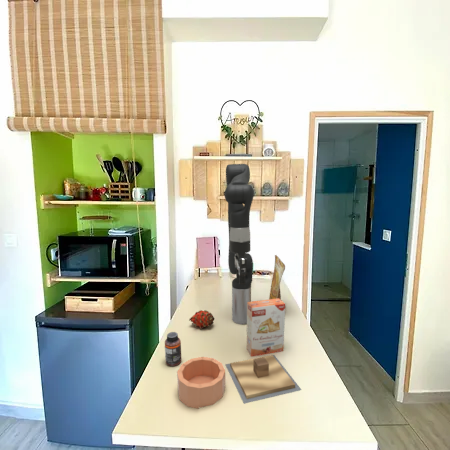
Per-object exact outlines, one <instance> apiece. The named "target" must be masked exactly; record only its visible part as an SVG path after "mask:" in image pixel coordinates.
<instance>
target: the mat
mask: <svg viewBox="0 0 450 450" xmlns="http://www.w3.org/2000/svg"><path fill="white" fill-rule="evenodd" d="M272 355H273V356H274V358H275V359H276V360H277V361H278V363H279V364H280V365H281V367H282V368H283V369H284V370H285V372H286V373H287V374H288V376H289V377H290V378H291V379H292V381H293V382H294V383H295V388H292V389H287V390H283V391H279V392H275V393H270V394H266V395H262V396H258V397H253V398H249V399H246V397H245V395H244V393H243V391H242V389H241V387H240V385H239V383H238V381H237V379H236V377H235V375H234V373H233V371H232V369H231V367H230V363H225V367H226V369H227V372H228V373H229V376H230V377H231V380H232V382H233V384H234V386H235V389H236V390H237V392H238V394H239V397H240V399H241V401H242V403H243V404H248V403H254V402H257V401H260V400H265V399H269V398H274V397H278V396H283V395H286V394H290V393H295V392H299V391H302V388H301V387H300V386H299V384H298V382H296V381H295V379H294V378H293V377H292V375H291V373H289V372H288V371H287V369H286V368H285V367H284V365H283V364H282V363H281V362H280V360H279V359H278V357H277V356H276V355H275V354H272Z"/></svg>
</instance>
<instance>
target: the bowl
mask: <svg viewBox="0 0 450 450" xmlns="http://www.w3.org/2000/svg"><path fill="white" fill-rule="evenodd" d="M176 373H177V375H176V376H177V393H178V398H179V401H180V402H182V404H184V405H185V406H186V407H187V408H193V409H197V410H199V409H200V408H204V407H207V406H213V405H215V404H216V403H217V402H219V401H220V400H221V399H222V398H224V397H223V396H224V394H225V391H226V369H225V367H224V365H223V363H222V362H221V361H219V360H217V359H215V358H214V357H207V356H200V357H199V356H198V357H193V358H190V359H188V360H187V361H185V362H183V363H182V364H181V365H180V366H179V369H178V370H177V371H176Z"/></svg>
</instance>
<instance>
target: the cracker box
mask: <svg viewBox="0 0 450 450" xmlns="http://www.w3.org/2000/svg"><path fill="white" fill-rule="evenodd" d="M285 319H286V303H284V301H283V300H282V299H281V300H280V299H279V298H277V299H269V298H268V299H260V300H254V301H252V300H251V302H247V323H246V350H247V351H246V352H248V354H249V356H250V357H251V358H252V357H257V356H259V357H260V356H263V355H264V356H265V355H268V354H274V353H280V352H284V349H285V348H284V347H285V346H284V343H285V324H286V323H285V321H286V320H285Z"/></svg>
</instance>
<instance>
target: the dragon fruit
mask: <svg viewBox="0 0 450 450" xmlns="http://www.w3.org/2000/svg"><path fill="white" fill-rule="evenodd" d="M188 321H190V322H191V325H192V326H193V327H199V329H200V330H201V329H204V328H206V329H207V328H208V327H210V326H212V325H213V324H214V321H215V316H214V315H213V314H212V313H211V312H210V311H208V310H206V309H205V310H201V309H200V310H198V311H196V312H195V313H194V314H193V315H192V316H191V317H190V318H189V320H188Z"/></svg>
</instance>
